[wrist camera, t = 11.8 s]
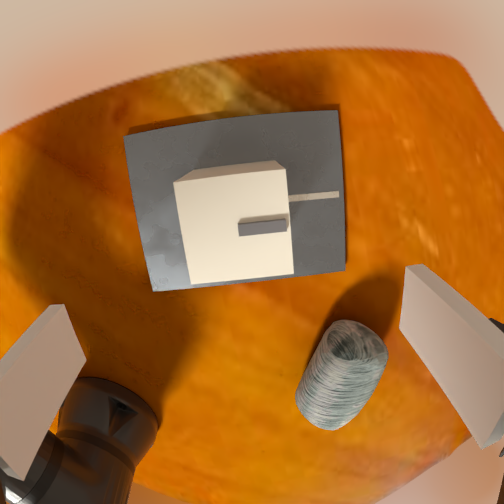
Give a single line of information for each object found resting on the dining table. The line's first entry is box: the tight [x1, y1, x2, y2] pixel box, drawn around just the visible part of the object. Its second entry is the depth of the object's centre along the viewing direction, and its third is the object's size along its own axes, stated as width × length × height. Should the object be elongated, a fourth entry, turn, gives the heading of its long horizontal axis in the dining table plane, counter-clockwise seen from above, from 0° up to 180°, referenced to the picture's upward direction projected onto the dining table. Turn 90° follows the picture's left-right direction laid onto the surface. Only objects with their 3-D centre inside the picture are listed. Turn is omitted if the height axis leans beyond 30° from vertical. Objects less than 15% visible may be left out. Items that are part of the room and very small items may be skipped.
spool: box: [295, 320, 388, 430], centre depth 34 cm, size 14×10×10 cm
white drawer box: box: [173, 160, 294, 284], centre depth 26 cm, size 7×7×9 cm
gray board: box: [123, 110, 345, 292], centre depth 28 cm, size 20×16×5 cm
